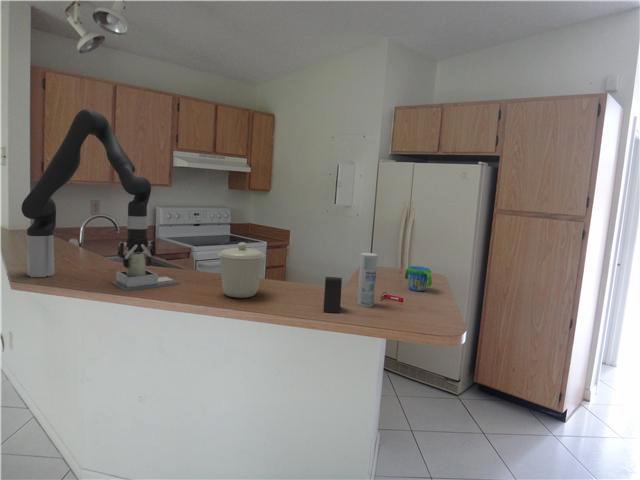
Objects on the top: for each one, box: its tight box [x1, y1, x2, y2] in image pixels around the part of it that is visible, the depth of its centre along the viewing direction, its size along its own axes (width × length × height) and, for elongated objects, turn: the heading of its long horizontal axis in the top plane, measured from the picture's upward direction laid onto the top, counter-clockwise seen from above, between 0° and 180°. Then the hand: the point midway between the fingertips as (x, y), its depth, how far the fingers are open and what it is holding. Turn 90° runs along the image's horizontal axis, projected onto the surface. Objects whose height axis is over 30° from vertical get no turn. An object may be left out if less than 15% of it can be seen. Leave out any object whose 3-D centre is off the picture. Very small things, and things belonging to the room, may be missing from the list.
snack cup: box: [404, 265, 433, 293], centre depth 195 cm, size 16×10×10 cm
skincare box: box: [125, 252, 147, 277], centre depth 172 cm, size 6×4×12 cm
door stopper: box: [323, 276, 343, 314], centre depth 156 cm, size 9×6×12 cm, turn 179°
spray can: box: [357, 252, 379, 308], centre depth 165 cm, size 6×6×20 cm
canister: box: [217, 241, 266, 299], centre depth 168 cm, size 18×18×21 cm
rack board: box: [112, 269, 181, 292], centre depth 176 cm, size 22×14×5 cm, turn 135°
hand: (137, 266), depth 173 cm, fingers open, 8 cm apart
